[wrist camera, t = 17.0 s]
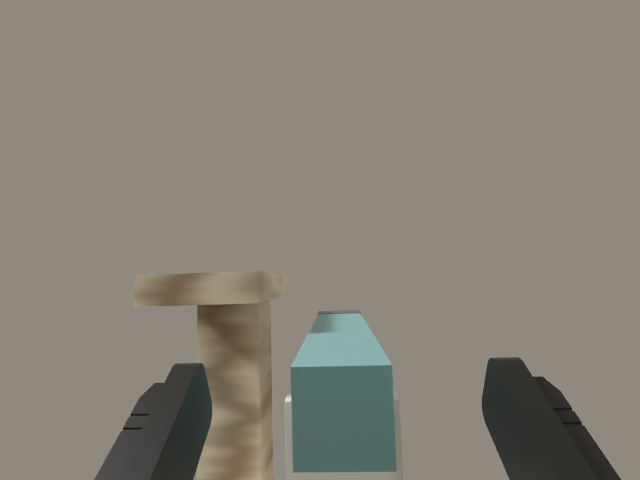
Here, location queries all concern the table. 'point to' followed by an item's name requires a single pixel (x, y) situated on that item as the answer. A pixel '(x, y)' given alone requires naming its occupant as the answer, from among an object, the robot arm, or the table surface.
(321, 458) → the teal bar
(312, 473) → the base pedestal
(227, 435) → the beige wooden column stand
